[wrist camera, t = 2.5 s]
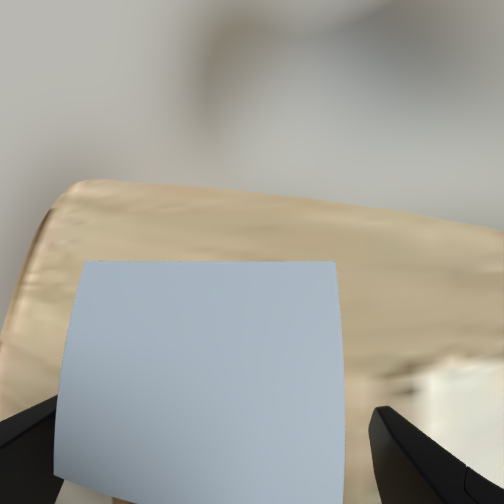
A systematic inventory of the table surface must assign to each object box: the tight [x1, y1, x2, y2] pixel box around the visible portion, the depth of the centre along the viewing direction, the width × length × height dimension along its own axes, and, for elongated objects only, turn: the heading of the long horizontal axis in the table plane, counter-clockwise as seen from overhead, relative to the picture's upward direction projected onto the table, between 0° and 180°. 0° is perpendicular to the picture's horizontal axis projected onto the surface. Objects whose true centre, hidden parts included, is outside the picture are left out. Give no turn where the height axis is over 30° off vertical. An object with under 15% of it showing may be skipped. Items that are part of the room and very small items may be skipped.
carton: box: [54, 261, 345, 504], centre depth 10 cm, size 5×5×12 cm
